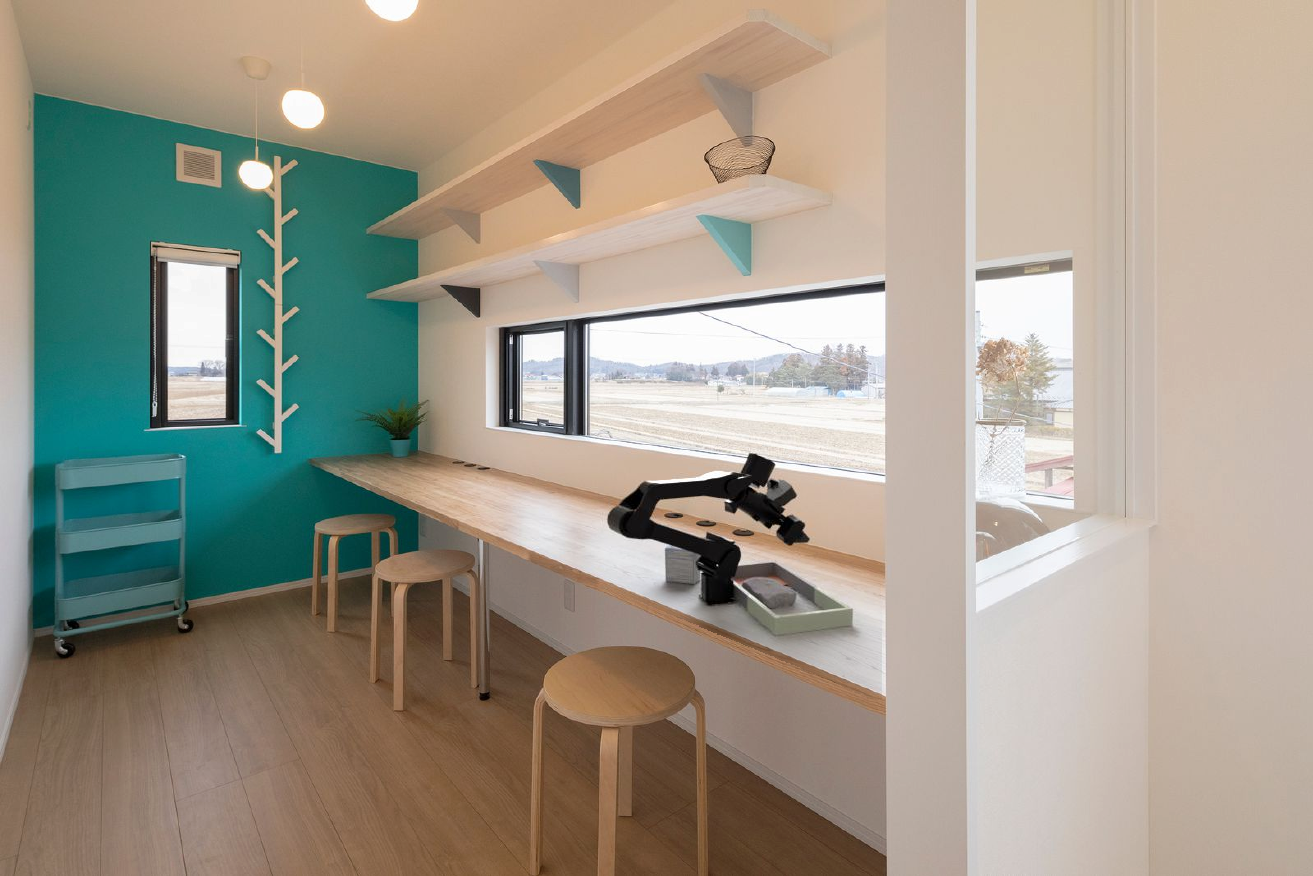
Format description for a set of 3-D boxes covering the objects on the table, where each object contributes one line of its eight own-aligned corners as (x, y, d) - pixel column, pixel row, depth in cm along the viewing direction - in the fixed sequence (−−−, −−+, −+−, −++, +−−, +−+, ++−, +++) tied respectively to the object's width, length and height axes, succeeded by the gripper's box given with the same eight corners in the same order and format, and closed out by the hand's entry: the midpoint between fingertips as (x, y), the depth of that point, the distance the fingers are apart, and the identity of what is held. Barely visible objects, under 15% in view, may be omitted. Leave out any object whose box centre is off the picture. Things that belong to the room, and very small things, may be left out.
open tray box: (775, 635, 129) (775, 618, 128) (712, 580, 163) (712, 567, 163) (852, 625, 133) (852, 608, 133) (775, 574, 168) (775, 560, 167)
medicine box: (700, 579, 165) (700, 545, 164) (695, 585, 161) (694, 550, 160) (671, 576, 168) (670, 543, 167) (665, 581, 163) (664, 547, 163)
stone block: (773, 596, 157) (736, 594, 153) (777, 577, 157) (740, 574, 153) (801, 615, 146) (762, 613, 142) (805, 594, 145) (766, 591, 142)
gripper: (794, 489, 143) (840, 520, 150) (754, 462, 160) (796, 491, 167) (765, 531, 144) (811, 560, 151) (728, 499, 161) (771, 527, 168)
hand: (798, 532), depth 159 cm, fingers open, 9 cm apart
